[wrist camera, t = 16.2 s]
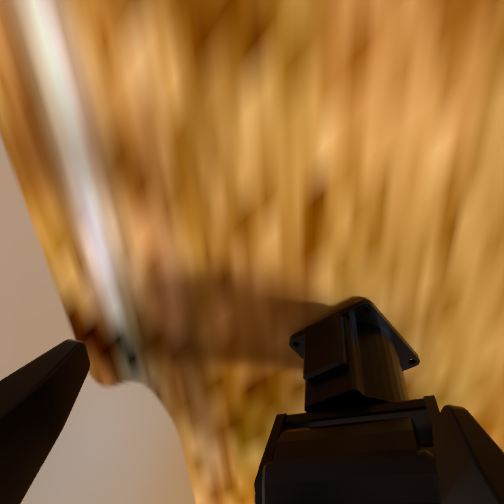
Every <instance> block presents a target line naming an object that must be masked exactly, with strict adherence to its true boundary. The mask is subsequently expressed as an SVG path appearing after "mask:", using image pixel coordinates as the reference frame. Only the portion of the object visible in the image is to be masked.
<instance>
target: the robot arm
mask: <svg viewBox="0 0 504 504" xmlns="http://www.w3.org/2000/svg"><path fill="white" fill-rule="evenodd" d="M363 307H368V308H367V309H363ZM296 342H298V343H296ZM289 345H290V347H291V348H292V349H293V350H294V351H295V352H296V353H297V354H299V355H300V356H301V357H302V358H303V359H304V369H303V378H304V380H305V409H304V410H305V411H306V412H307V413H300V414H292V415H287V414H278V415H277V416H276V419H275V422H274V425H273V428H272V431H271V434H270V436H269V439H268V442H267V445H266V448H265V451H264V454H263V457H262V460H261V463H260V466H259V470H258V473H257V476H256V479H255V483H254V487H255V504H504V452H503V451H502V450H501V449H500V448H499V446H498V445H497V444H496V443H495V442H494V441H493V440H492V438H491V437H490V436H489V435H488V434H487V433H486V431H485V430H484V429H483V428H482V427H481V426H480V424H479V423H478V422H477V421H476V420H475V419H474V417H473V416H472V415H471V414H470V413H469V412H468V411H467V410H466V409H465V408H463V407H459V406H454V405H445V406H444V407H443V409H442V410H441V412H439V409H438V405H437V402H436V399H435V396H434V395H431V396H423V397H424V398H423V399H414V400H409V396H408V392H407V387H406V383H405V379H404V375H403V371H404V370H407V369H409V368H412V367H415V366H417V365H418V364H419V362H420V360H419V357H418V355H417V353H416V352H415V351H414V350H413V349H412V348H411V347H410V345H409V344H408V343H407V342H406V341H405V340H404V338H403V337H402V336H401V335H400V334H399V333H398V332H397V330H396V329H395V328H394V327H393V326H392V325H391V324H390V322H389V321H388V320H387V319H386V318H385V317H384V315H383V314H382V313H381V312H380V311H379V310H378V309H377V307H376V306H375V305H374V304H373V303H372V302H371V301H369V300H362V301H359V302H357V303H356V304H354V305H352V306H350V307H348V308H346V309H344V310H342V311H340V312H338V313H335V314H333V315H331V316H329V317H327V318H325V319H323V320H321V321H319V322H317V323H315V324H313V325H312V326H310V327H308V328H306V329H304V330H302V331H300V332H298V333H296V334H295V335H293V336H291V337H290V340H289ZM410 359H412V360H410ZM89 367H90V361H89V357H88V353H87V349H86V345H85V343H84V342H83V341H78V340H72V339H68V340H65V341H64V342H62V343H60V344H59V345H57V346H55V347H54V348H52V349H51V350H49V351H47V352H46V353H44V354H43V355H41V356H39V357H38V358H36V359H35V360H33V361H31V362H30V363H28V364H26V365H25V366H23V367H22V368H20V369H18V370H17V371H15V372H14V373H12V374H10V375H9V376H8V377H5V378H4V379H2V380H1V381H0V504H20V503H21V502H22V500H23V498H24V496H25V495H26V493H27V491H28V489H29V488H30V486H31V484H32V482H33V481H34V478H35V477H36V475H37V473H38V472H39V470H40V468H41V466H42V465H43V463H44V461H45V459H46V458H47V456H48V454H49V452H50V451H51V449H52V447H53V445H54V444H55V442H56V440H57V438H58V436H59V435H60V433H61V431H62V429H63V427H64V425H65V423H66V421H67V418H68V416H69V414H70V412H71V410H72V407H73V405H74V403H75V401H76V398H77V396H78V394H79V392H80V389H81V387H82V385H83V383H84V380H85V378H86V376H87V374H88V371H89Z"/></svg>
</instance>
